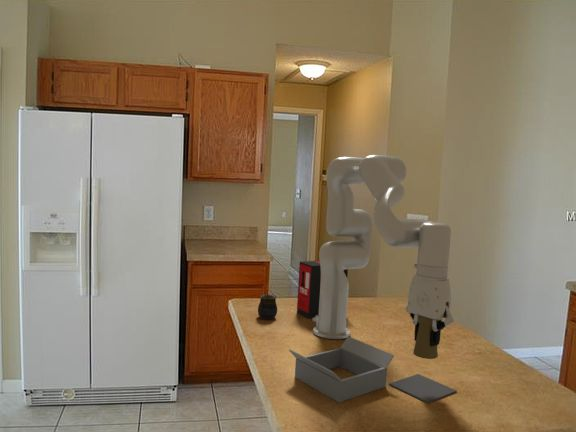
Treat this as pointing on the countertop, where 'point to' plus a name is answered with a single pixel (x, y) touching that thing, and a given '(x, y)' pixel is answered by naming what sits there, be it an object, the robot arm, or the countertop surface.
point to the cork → (425, 340)
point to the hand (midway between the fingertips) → (426, 341)
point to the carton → (351, 357)
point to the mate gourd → (267, 307)
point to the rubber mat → (423, 388)
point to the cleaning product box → (309, 288)
